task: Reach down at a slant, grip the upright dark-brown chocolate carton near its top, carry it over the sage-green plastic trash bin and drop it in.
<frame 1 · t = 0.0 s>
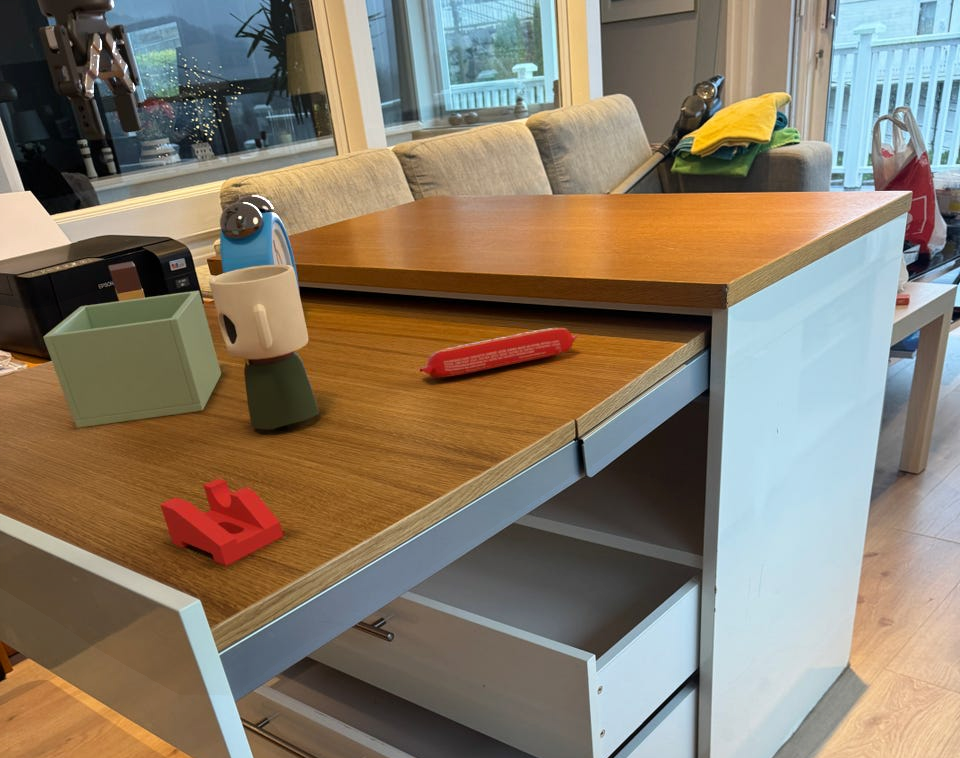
hand: (114, 135, 102), 23 cm above the table, tool pointing down, fingers open, 8 cm apart
alarm clock: (274, 331, 112), on the table
trash bin: (153, 399, 93), on the table
bracket: (228, 542, 62), on the table
chocolate carton: (144, 339, 116), on the table
character mug: (287, 425, 82), on the table
packaged sausage: (501, 369, 89), on the table
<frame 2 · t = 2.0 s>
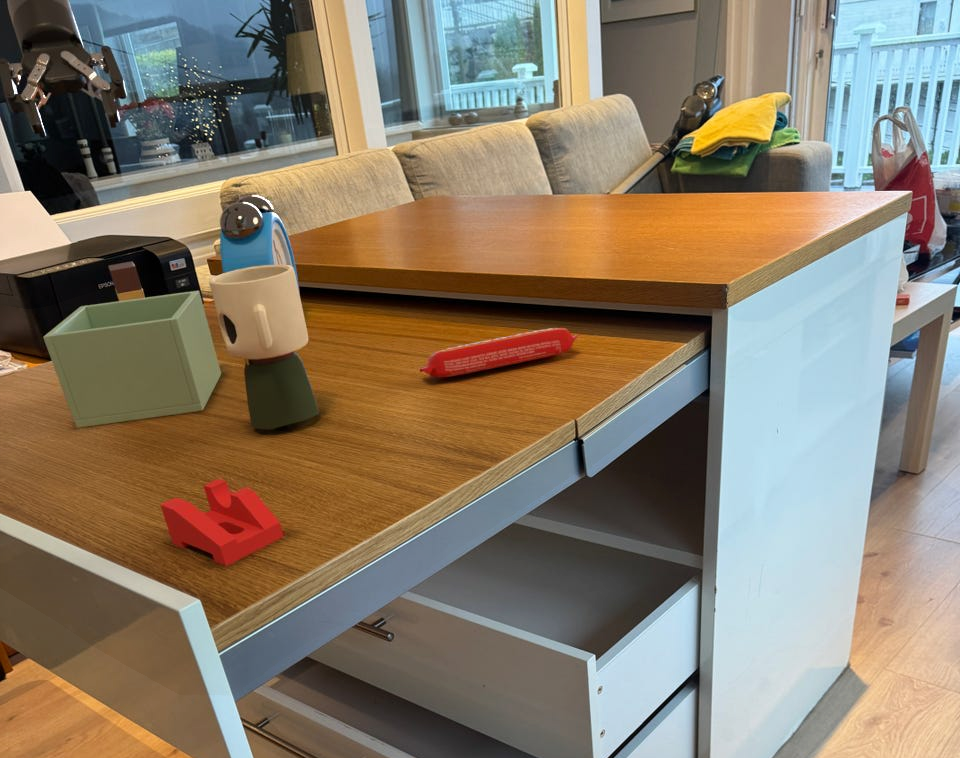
hand: (77, 127, 112), 24 cm above the table, tool tilted 45°, fingers open, 8 cm apart
nothing on the table moved.
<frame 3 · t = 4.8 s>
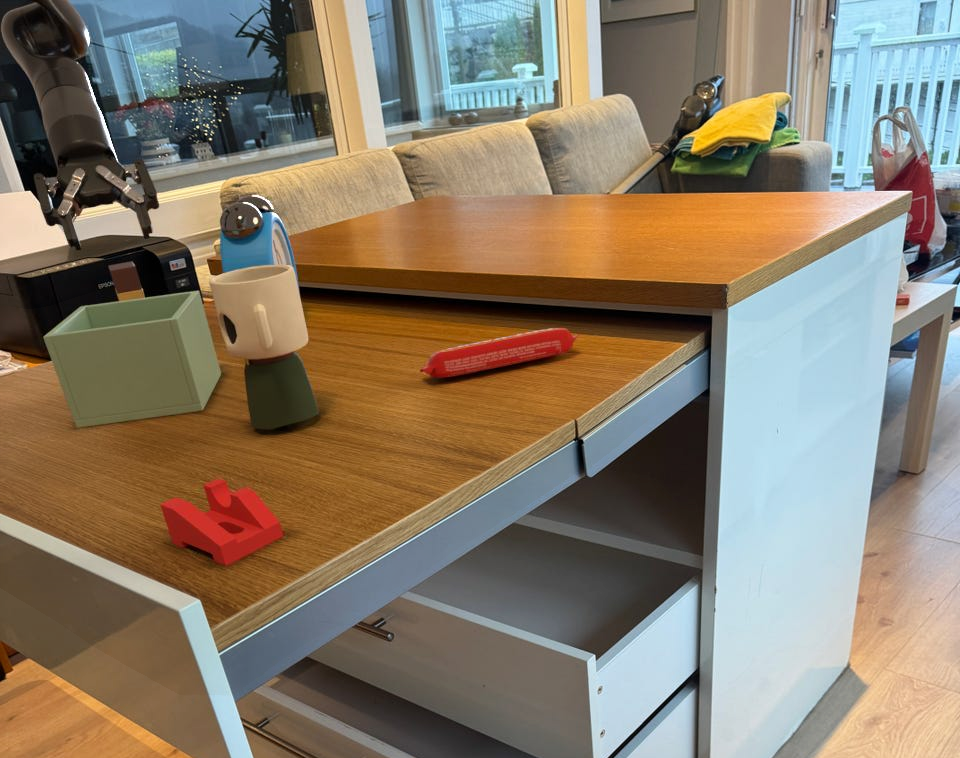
hand: (112, 240, 114), 11 cm above the table, tool tilted 45°, fingers open, 8 cm apart
nothing on the table moved.
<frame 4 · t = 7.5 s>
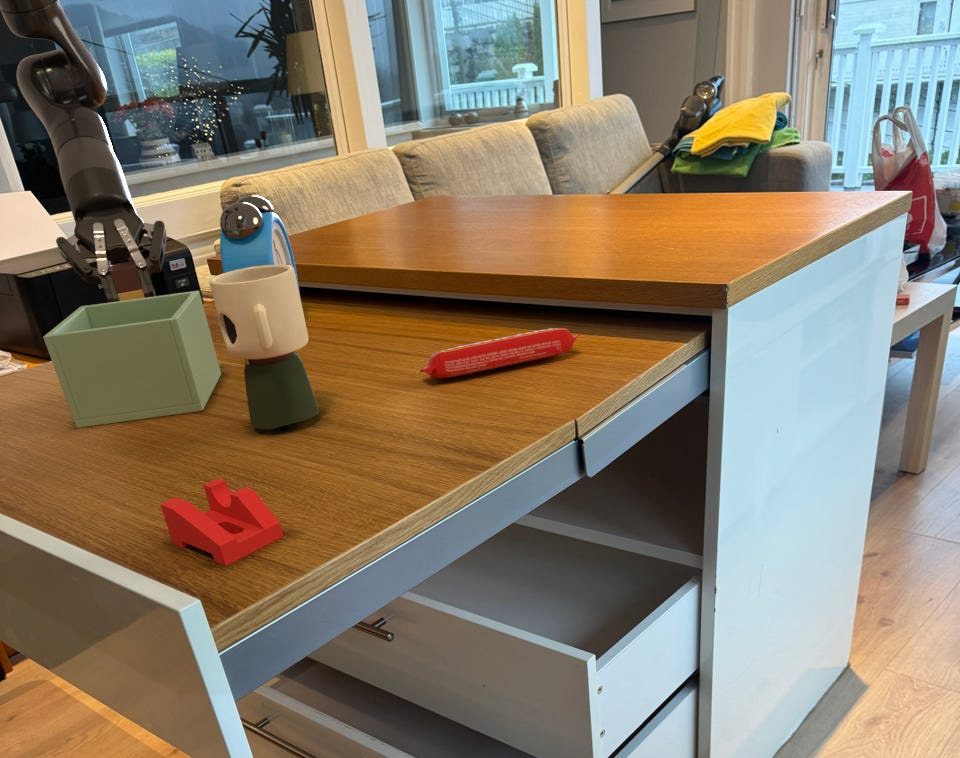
hand: (133, 302, 111), 5 cm above the table, tool tilted 45°, fingers closed on chocolate carton, 3 cm apart
chocolate carton: (144, 339, 116), on the table, touching gripper
everything else where it was.
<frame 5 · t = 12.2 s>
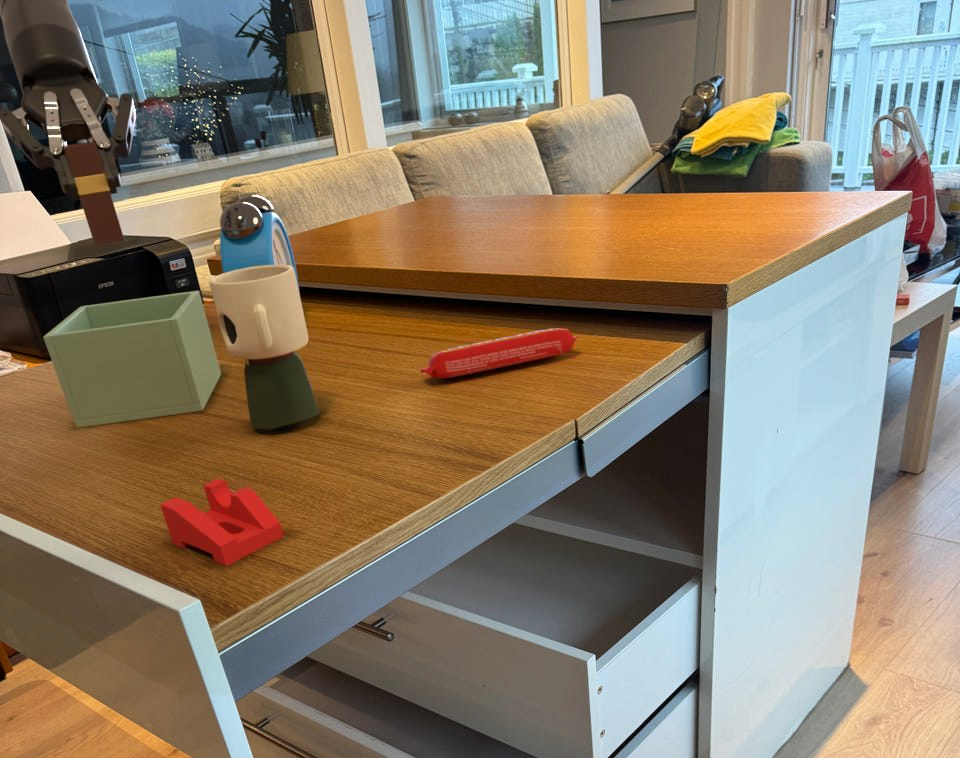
hand: (93, 189, 91), 19 cm above the table, tool tilted 45°, fingers closed on chocolate carton, 3 cm apart
chocolate carton: (108, 240, 95), point 14 cm above the table, touching gripper
everything else where it was.
when the fingers open (7 cm above the table, at t = 17.7 s): chocolate carton stays where it is, resting on trash bin.
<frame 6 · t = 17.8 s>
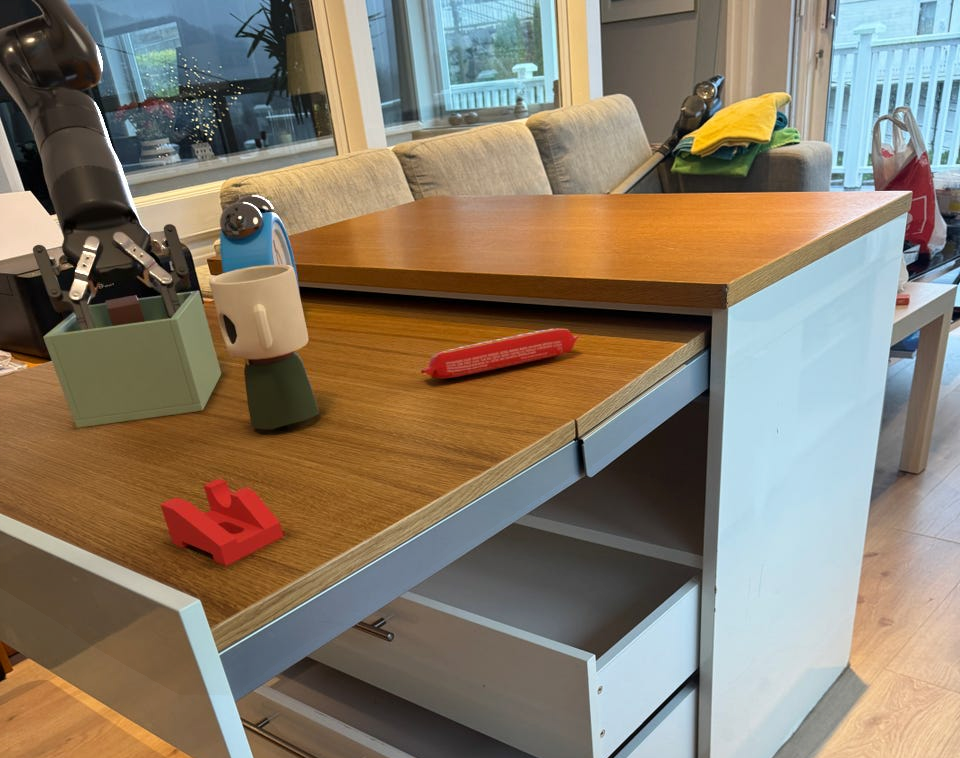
hand: (135, 332, 88), 7 cm above the table, tool tilted 45°, fingers open, 7 cm apart
chocolate carton: (150, 392, 92), point 1 cm above the table, touching trash bin
everything else where it was.
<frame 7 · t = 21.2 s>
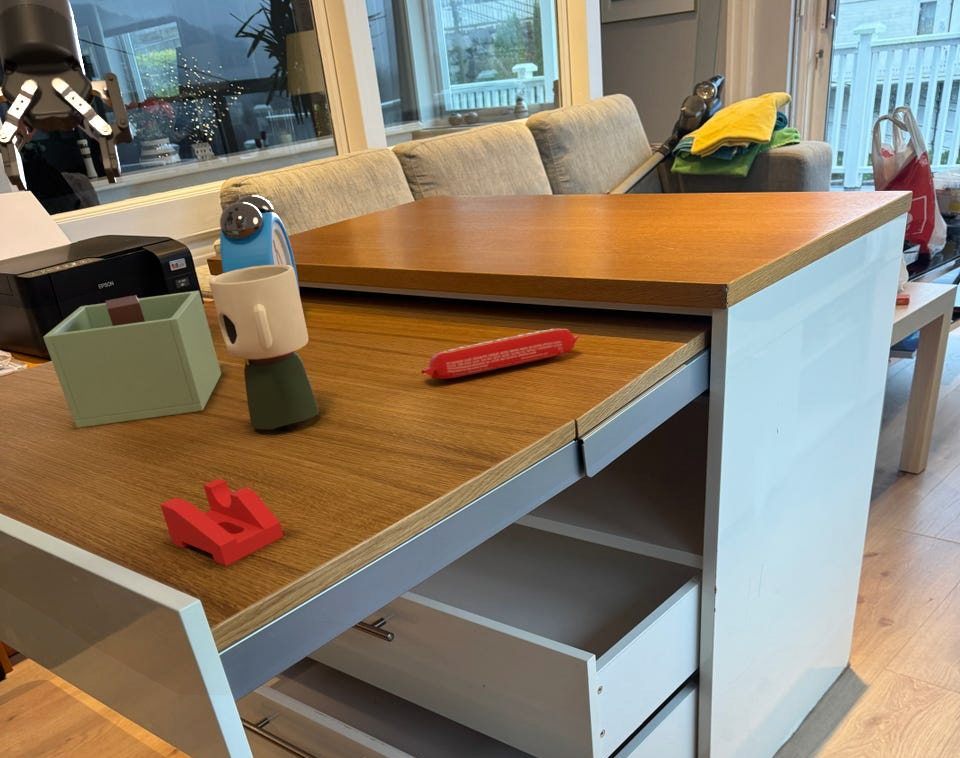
hand: (66, 182, 89), 20 cm above the table, tool tilted 35°, fingers open, 8 cm apart
nothing on the table moved.
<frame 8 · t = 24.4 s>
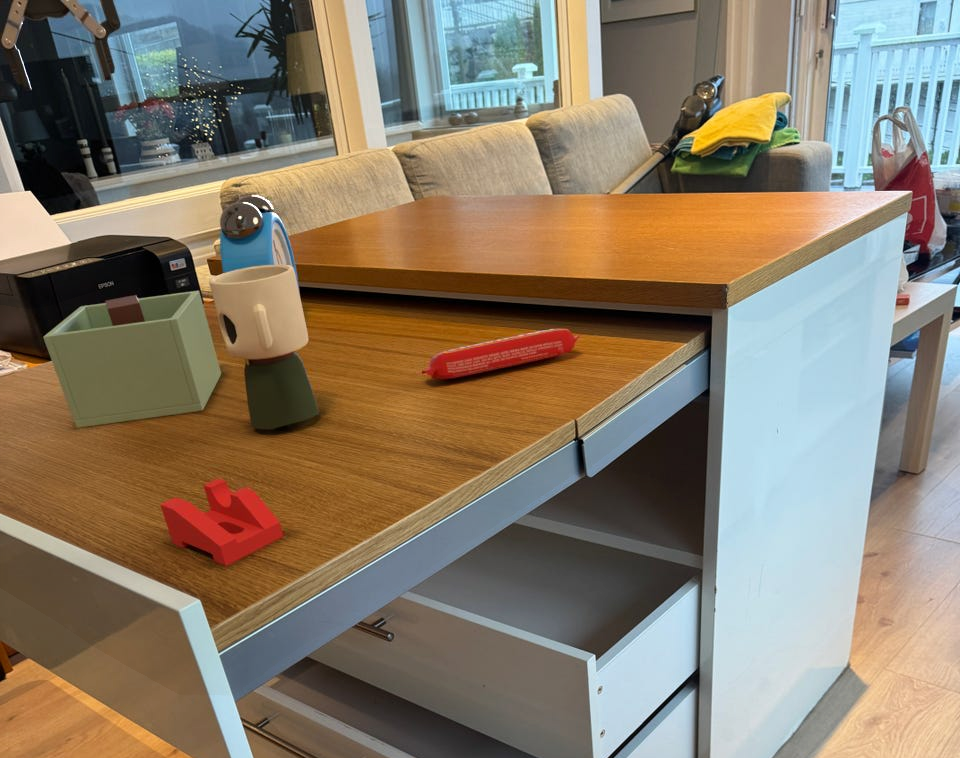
hand: (68, 85, 99), 28 cm above the table, tool pointing down, fingers open, 8 cm apart
nothing on the table moved.
at the end: chocolate carton inside the target area in the trash bin (0.1 cm from its centre), point 0.8 cm above the trash bin's base; the gripper is holding nothing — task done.
